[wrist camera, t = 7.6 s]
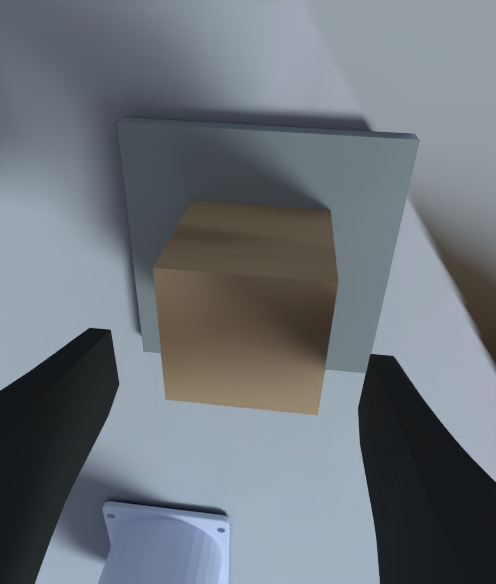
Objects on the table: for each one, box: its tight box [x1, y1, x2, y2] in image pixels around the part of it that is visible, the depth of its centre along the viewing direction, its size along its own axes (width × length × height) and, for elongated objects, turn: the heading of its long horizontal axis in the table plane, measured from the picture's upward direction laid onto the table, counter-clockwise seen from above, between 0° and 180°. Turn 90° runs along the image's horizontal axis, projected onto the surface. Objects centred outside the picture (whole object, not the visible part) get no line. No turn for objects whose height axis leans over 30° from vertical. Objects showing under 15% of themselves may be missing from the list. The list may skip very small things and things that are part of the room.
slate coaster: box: [116, 117, 419, 373], centre depth 18 cm, size 10×10×1 cm
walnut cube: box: [153, 201, 339, 415], centre depth 16 cm, size 5×5×5 cm
